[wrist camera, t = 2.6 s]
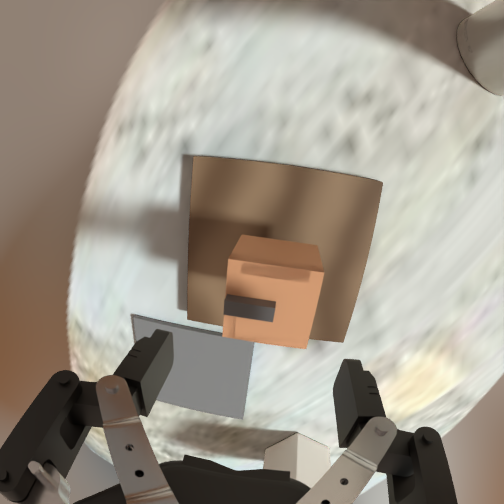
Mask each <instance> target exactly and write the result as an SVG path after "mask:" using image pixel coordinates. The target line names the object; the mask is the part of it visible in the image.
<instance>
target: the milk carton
mask: <svg viewBox="0 0 504 504" xmlns="http://www.w3.org/2000/svg"><path fill="white" fill-rule="evenodd" d="M330 468H331V462H330V448H329V447H327V446H325V445H322V444H320V443H318V442H316V441H314V440H312V439H309V438H307V437H305V436H303V435H301V434H299V433H296V434H294V435H292V436H290V437H288V438H287V439H285V440H283V441H281V442H279V443H277V444H275V445H273V446H271V447H269V448H267V449H266V450H265V457H264V465H263V469H270V470H281V471H290V478H293V479H295V480H298V481H300V482H302V483H304V484H306V485H307V486H309V487H310V488H312V487H313V486H314V485H315V484H316V483H317V482H318V481H319V480H320V479H321V478H322V476H323V475H324V474H325V473H326V472H327V471H328V470H329V469H330Z"/></svg>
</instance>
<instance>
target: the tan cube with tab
mask: <svg viewBox="0 0 504 504" xmlns="http://www.w3.org/2000/svg"><path fill="white" fill-rule="evenodd" d="M323 277H324V269H323V265H322V261H321V257H320V253H319V249H318V246H317V245H312V244H305V243H299V242H292V241H285V240H278V239H270V238H263V237H256V236H249V235H241V237H240V238H239V240H238V242H237V244H236V246H235V247H234V249H233V251H232V253H231V255H230V256H229V258H228V267H227V280H226V293H225V300H224V313H223V315H224V321H223V336H222V337H227V338H233V339H239V340H245V341H251V342H258V343H264V344H271V345H278V346H286V347H294V348H302V349H306V347H307V344H308V340H309V336H310V332H311V328H312V324H313V320H314V316H315V312H316V308H317V304H318V299H319V295H320V291H321V286H322V282H323Z"/></svg>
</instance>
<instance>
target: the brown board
mask: <svg viewBox="0 0 504 504" xmlns="http://www.w3.org/2000/svg"><path fill="white" fill-rule="evenodd" d="M382 186H383V182H380V181H378V180H373V179H368V178H363V177H358V176H353V175H347V174H342V173H336V172H330V171H324V170H318V169H312V168H305V167H299V166H292V165H284V164H277V163H269V162H260V161H251V160H242V159H231V158H220V157H207V156H194V158H193V170H192V184H191V200H190V219H189V244H188V286H187V320H192V321H197V322H202V323H208V324H213V325H219V326H223V321H224V315H223V313H224V300H225V293H226V280H227V267H228V258H229V256H230V255H231V253H232V251H233V249H234V247H235V246H236V244H237V242H238V240H239V238H240V237H241V235H249V236H256V237H263V238H270V239H278V240H285V241H292V242H299V243H305V244H312V245H317V246H318V249H319V253H320V257H321V261H322V265H323V269H324V277H323V282H322V286H321V291H320V295H319V299H318V304H317V308H316V312H315V316H314V320H313V324H312V328H311V332H310V336H309V339H314V340H323V341H333V342H344V339H345V335H346V332H347V329H348V326H349V323H350V320H351V316H352V313H353V310H354V306H355V303H356V300H357V296H358V293H359V289H360V285H361V282H362V278H363V274H364V270H365V266H366V262H367V258H368V254H369V250H370V246H371V241H372V237H373V232H374V227H375V223H376V218H377V213H378V208H379V203H380V197H381V192H382Z"/></svg>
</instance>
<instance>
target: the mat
mask: <svg viewBox="0 0 504 504" xmlns="http://www.w3.org/2000/svg"><path fill="white" fill-rule="evenodd" d="M133 321H134V329H135V337H136V342H137V341H138V340H140V339H141V338H143V337H149V338H150V337H151V336H152V334H153V333H154V331H155V330H156V329H160V330H165V331H169V332H172V333H173V348H174V361H173V366H172V368H171V371H170V373H169V375H168V377H167V379H166V381H165V383H164V385H163V387H162V389H161V391H160V393H159V395H158V397H157V399H156V400H158V401H161V402H165V403H169V404H172V405H176V406H180V407H184V408H188V409H192V410H197V411H201V412H206V413H210V414H215V415H220V416H226V417H231V418H237V419H243V416H244V409H245V402H246V396H247V389H248V382H249V376H250V369H251V362H252V355H253V348H254V342H251V341H245V340H239V339H233V338H227V337H222V336H223V333H219V332H213V331H208V330H203V329H198V328H193V327H188V326H183V325H178V324H173V323H169V322H164V321H160V320H155V319H151V318H147V317H143V316H139V315H135V316H134V317H133Z"/></svg>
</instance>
